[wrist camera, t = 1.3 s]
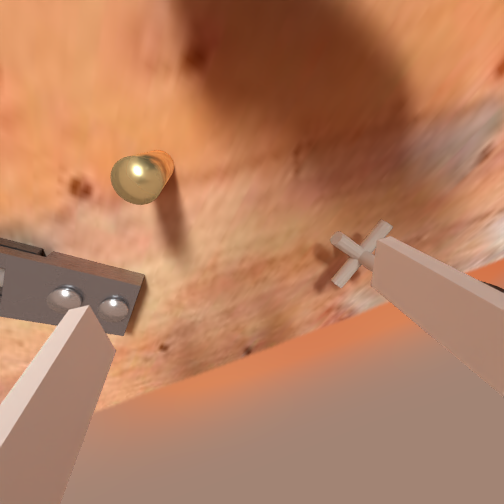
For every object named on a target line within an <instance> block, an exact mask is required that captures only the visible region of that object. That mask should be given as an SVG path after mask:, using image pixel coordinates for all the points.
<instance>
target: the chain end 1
mask: <svg viewBox="0 0 504 504" xmlns="http://www.w3.org/2000/svg"><path fill="white" fill-rule="evenodd" d="M0 246H3V247H7V248H11V249H15V250H19V251H23V252H27V253H31V254H35V255H40V256H42V250H43V249H42V248H38V247H34V246H30V245H26V244H22V243H18V242H15V241H11V240H7V239H3V238H0ZM2 290H3V287H0V296H2Z"/></svg>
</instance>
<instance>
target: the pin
mask: <svg viewBox="0 0 504 504" xmlns="http://www.w3.org/2000/svg"><path fill="white" fill-rule="evenodd" d="M173 171H174V162H173V160H172V158H171V157H170V156H169V155H168V154H167V153H166V152H164V151H161V150H154V151H150V152H146V153H142V154H137V155H133V156H129V157H125V158H122V159H120V160H119V161H118V162H117V163H116V164H115V165H114V166H113V168H112V171H111V182H112V185H113V188H114V190H115V191H116V193H117V194H118V195H119V196H120V197H121V198H123V199H124V200H126V201H127V202H130V203H133V204H137V205H144V204H148V203H151V202H152V201H154V200H155V199H156V198H157V197H158V196H159V194H160V193H161V191H162V189H163V188H164V186H165V185H166V183H167V181H168V180H169V178H170V177H171V175H172V173H173Z"/></svg>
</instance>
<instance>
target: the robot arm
mask: <svg viewBox="0 0 504 504" xmlns="http://www.w3.org/2000/svg"><path fill="white" fill-rule="evenodd" d="M371 286H372V287H373V288H374V289H375V290H377V291H378V292H379V293H380V294H381V295H383V296H384V297H385V298H386V299H387V300H389V301H390V302H391V303H392V304H393V305H394V306H396V307H397V308H398V309H399V310H400V311H402V312H403V313H404V314H405V315H406V316H408V317H409V318H410V319H411V320H412V321H414V322H415V323H416V324H417V325H418V326H419V327H421V328H422V329H423V330H424V331H425V332H427V333H428V334H429V335H430V336H431V337H433V338H434V339H435V340H436V341H437V342H439V343H440V344H441V345H442V346H443V347H445V348H446V349H447V350H448V351H449V352H450V353H452V354H453V355H454V356H455V357H457V358H458V359H459V360H460V361H461V362H462V363H463V364H465V365H466V366H467V367H468V368H470V369H471V370H472V371H473V372H474V373H475V374H477V375H478V376H479V377H480V378H481V379H483V380H484V381H485V382H486V383H487V384H489V385H490V386H491V387H492V388H493V389H494V390H496V391H497V392H498V393H499V394H500V395H502V396H503V397H504V289H502V288H500V287H497V286H494V285H491V284H488V283H485V282H482V281H479V280H476V279H475V278H473V277H471V276H469V275H467V274H465V273H463V272H461V271H459V270H457V269H455V268H453V267H451V266H449V265H447V264H445V263H443V262H441V261H439V260H437V259H435V258H433V257H431V256H429V255H427V254H425V253H423V252H421V251H419V250H417V249H415V248H413V247H411V246H409V245H407V244H405V243H403V242H401V241H399V240H397V239H395V238H393V237H391V236H390V237H386V238H381V239H377V243H376V251H375V258H374V265H373V273H372V280H371ZM115 352H116V350H115V348H114V347H113V345H112V343H111V342H110V340H109V338H108V336H107V335H106V333H105V331H104V329H103V328H102V326H101V324H100V323H99V321H98V319H97V317H96V316H95V314H94V312H93V311H92V309H91V307H90V305H87V306H83V307H78V308H74V309H70V310H68V312H67V313H66V315H65V316H64V317H63V319H62V320H61V321H60V323H59V324H58V326H57V327H56V328H55V330H54V331H53V333H52V334H51V335H50V337H49V338H48V339H47V341H46V342H45V344H44V345H43V346H42V348H41V349H40V350H39V352H38V353H37V355H36V356H35V357H34V359H33V360H32V361H31V363H30V364H29V366H28V367H27V368H26V370H25V371H24V373H23V374H22V375H21V377H20V378H19V379H18V381H17V382H16V384H15V385H14V386H13V388H12V389H11V390H10V392H9V393H8V395H7V396H6V397H5V399H4V400H3V401H2V403H1V404H0V504H60V503H61V500H62V497H63V495H64V492H65V489H66V487H67V483H68V481H69V478H70V476H71V473H72V470H73V467H74V465H75V462H76V459H77V456H78V454H79V451H80V448H81V445H82V443H83V440H84V437H85V435H86V432H87V429H88V426H89V424H90V420H91V418H92V415H93V413H94V410H95V407H96V404H97V402H98V399H99V396H100V393H101V391H102V388H103V385H104V383H105V380H106V377H107V374H108V372H109V369H110V366H111V363H112V361H113V358H114V355H115Z"/></svg>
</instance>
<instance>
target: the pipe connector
mask: <svg viewBox="0 0 504 504" xmlns="http://www.w3.org/2000/svg"><path fill="white" fill-rule="evenodd" d="M392 228H393V226H392V225H390V224H389V223H387V222H386V221H384V220H380V221H379V222H378V223H377V224H376V226H375V227H374V228H373V229H372V231H371V232H370V233H369V234H368V235H367V237H366V238H365V239H364V240H363V241H362V243H361V244H360V245H358V244H357V243H355V242H354V241H353V240H351V239H350V238H349V237H347V236H346V235H345V234H343V233H342V232H339V231H338V232H336V233H334V234H333V235H332V237H331V239H330V242H331V244H332V245H334V246H335V247H337V248H338V249H340V250H341V251H343V252H344V253H345V254H347V255H348V256H350V257H349V258H348V259H347V261H346V262H345V263H344V264H343V266H342V267H341V268H340V269H339V270H338V272H337V273H336V274H335V275H334V276H333V278H332V279H331V281H332V282H333V283H334V284H336V285H337V286H339V287H340V288H342V287H343V286H344V285H345V284H346V282H347V281H348V280H349V279H350V278H351V277H352V275H353V274H354V273H355V272H356V271H357V269H358V268H359V267H360V266H361V265H363V266H364V267H366V268H367V269H369V270H370V271H372V272H373V265H374V258H375V255H373V254H372V252H373V251H374V249H375V248H376V243H377V239H381V238H385V237H386V235H387V234H388V233H389V232H390V231H391V230H392Z"/></svg>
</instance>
